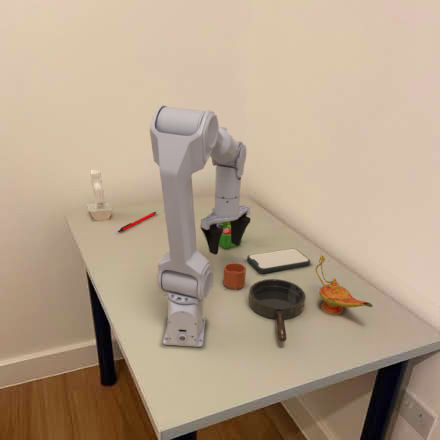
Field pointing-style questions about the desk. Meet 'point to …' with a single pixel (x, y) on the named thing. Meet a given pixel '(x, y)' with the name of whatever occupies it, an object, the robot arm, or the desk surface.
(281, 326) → the pan handle
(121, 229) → the pen
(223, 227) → the fruit basket
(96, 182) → the figurine
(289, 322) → the desk surface
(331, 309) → the magic lamp
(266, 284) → the pan
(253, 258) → the phone case
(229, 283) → the terracotta cup
